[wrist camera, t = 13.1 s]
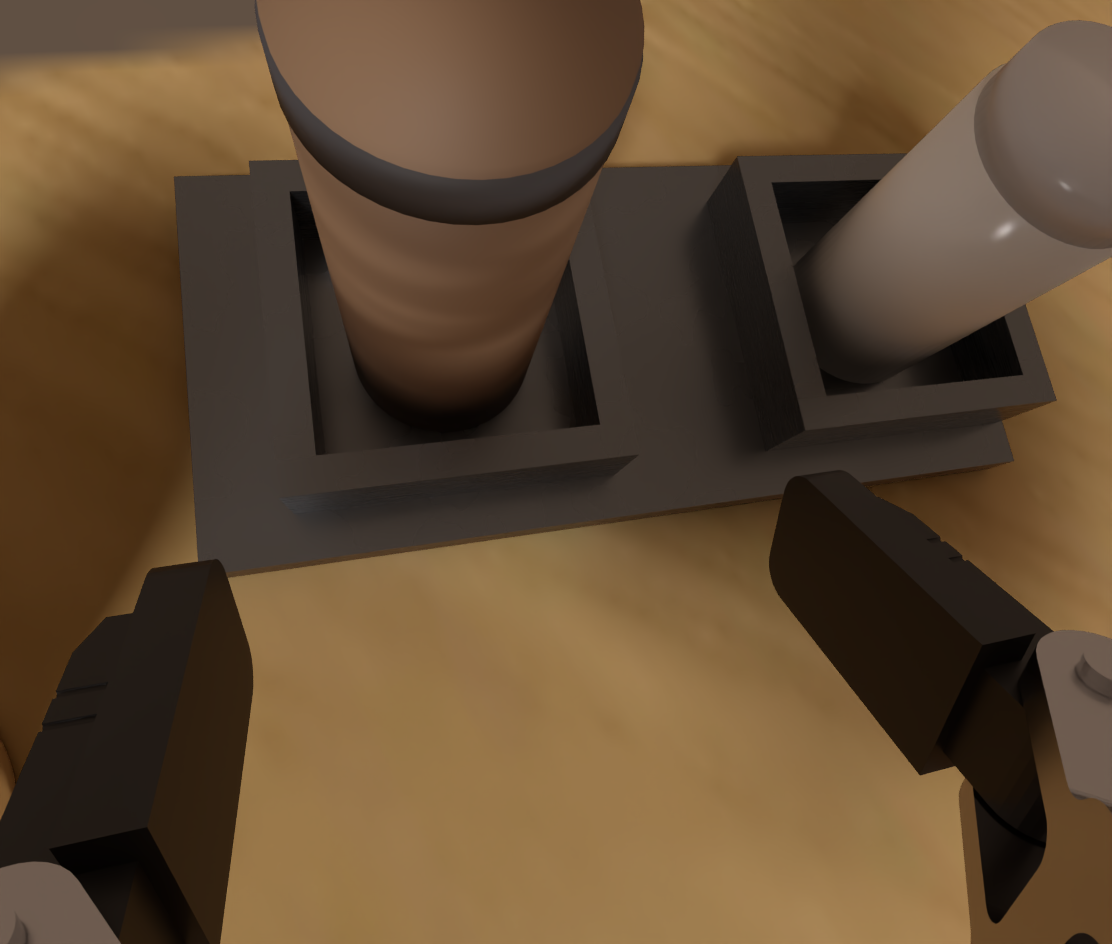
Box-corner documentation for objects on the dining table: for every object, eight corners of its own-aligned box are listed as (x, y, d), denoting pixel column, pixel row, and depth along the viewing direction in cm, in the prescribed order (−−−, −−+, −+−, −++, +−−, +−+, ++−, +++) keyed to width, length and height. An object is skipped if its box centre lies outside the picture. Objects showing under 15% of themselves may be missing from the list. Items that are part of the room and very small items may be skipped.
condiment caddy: (211, 579, 16) (168, 567, 13) (186, 200, 18) (143, 118, 15) (987, 469, 21) (1077, 442, 18) (900, 181, 23) (969, 116, 20)
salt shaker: (803, 390, 19) (1057, 228, 12) (768, 249, 20) (982, 12, 13) (936, 376, 20) (1249, 219, 13) (896, 242, 21) (1167, 19, 14)
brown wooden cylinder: (359, 442, 17) (263, 176, 7) (342, 272, 17) (238, -171, 8) (541, 425, 17) (679, 169, 8) (517, 264, 18) (614, -140, 9)
